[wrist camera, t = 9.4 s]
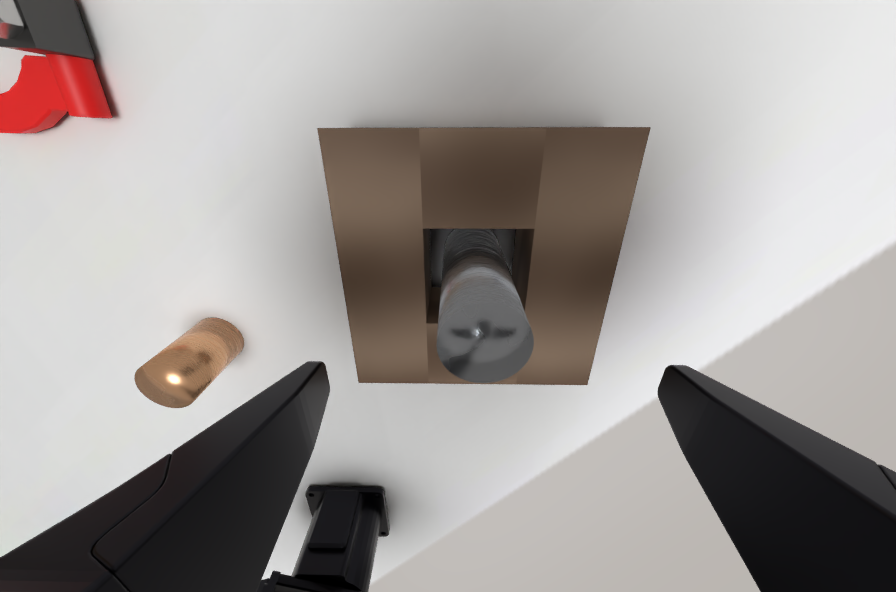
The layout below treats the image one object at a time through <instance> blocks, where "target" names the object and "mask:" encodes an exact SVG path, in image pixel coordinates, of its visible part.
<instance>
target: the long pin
mask: <svg viewBox="0 0 896 592" xmlns="http://www.w3.org/2000/svg"><path fill="white" fill-rule="evenodd" d="M436 346H437V353H438V356H439V358H440V361H441V362H442V364H443V365H444V366H445V368H446V369H447V370H448V371H449V372H451V373H452V374H453V375H455V376H457V377H459V378H461V379H463V380H466V381H469V382H474V383H492V382H497V381H501V380H504V379H506V378H508V377H511V376H512V375H514V374H515V373H517V372H518V371H519V370H521V369H522V368H523V367H524V366H525V364H526V363H527V362H528V360H529V358H530V356H531V354H532V351H533V346H534V337H533V333H532V329H531V327H530V324H529V322H528V319H527V316H526V314H525V311H524V308H523V306H522V303H521V301H520V298H519V295H518V293H517V290H516V287H515V285H514V282H513V280H512V277H511V274H510V272H509V269H508V266H507V264H506V261H505V258H504V256H503V253H502V251H501V248H500V245H499V243H498V240H497V238H496V236H495V234H494V233H493V232H492V231H491V230H490V229H454V230H453V231H452V232H451V233H450V234H449V236H448V237H447V239H446V242H445V247H444V259H443V271H442V283H441V295H440V307H439V319H438V331H437V344H436Z"/></svg>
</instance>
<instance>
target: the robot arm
mask: <svg viewBox="0 0 896 592" xmlns="http://www.w3.org/2000/svg"><path fill="white" fill-rule="evenodd" d="M329 392H330V385H329V380H328V375H327V371H326V366H325V364H324V363H323V362H321V361H309V362H306V363H305V364H303V365H302V366H300V367H299V368H297V369H296V370H294V371H293V372H291V373H290V374H288V375H287V376H285V377H284V378H282V379H280V380H279V381H277V382H276V383H274V384H273V385H271V386H270V387H268V388H267V389H265V390H264V391H262V392H261V393H259V394H258V395H256V396H255V397H253V398H252V399H250V400H249V401H247V402H246V403H244V404H243V405H241V406H240V407H238V408H237V409H235V410H234V411H232V412H231V413H229V414H228V415H226V416H225V417H223V418H222V419H220V420H219V421H217V422H216V423H214V424H213V425H211V426H210V427H208V428H207V429H205V430H204V431H202V432H201V433H199V434H198V435H196V436H195V437H193V438H192V439H190V440H189V441H187V442H186V443H184V444H183V445H181V446H180V447H178V448H177V449H175V450H174V451H173V452H172V454H168V455H166V456H165V457H163V458H162V459H160V460H159V461H157V462H156V463H154V464H153V465H151V466H150V467H148V468H147V469H145V470H143V471H142V472H140V473H139V474H137V475H136V476H134V477H133V478H131V479H129V480H128V481H126V482H125V483H123V484H122V485H120V486H119V487H117V488H115V489H114V490H112V491H110V492H109V493H107V494H106V495H104V496H102V497H101V498H99V499H97V500H96V501H94V502H92V503H91V504H89V505H88V506H86V507H84V508H83V509H81V510H79V511H78V512H76V513H74V514H73V515H71V516H69V517H68V518H66V519H64V520H62V521H61V522H59V523H57V524H56V525H54V526H52V527H51V528H49V529H47V530H46V531H44V532H42V533H41V534H39V535H37V536H36V537H34V538H32V539H31V540H29V541H27V542H26V543H24V544H22V545H20V546H19V547H17V548H15V549H14V550H12V551H10V552H9V553H7V554H5V555H4V556H2V557H0V592H368V589H369V584H370V578H371V573H372V568H373V562H374V557H375V552H376V546H377V541H378V536H388V535H389V529H390V528H389V521H388V515H387V508H386V501H385V494H384V490H383V489H381V488H373V487H309V488H308V489H307V491H306V493H305V495H306V498H307V501H308V504H309V507H310V510H311V514H312V517H313V518H312V521H311V524H310V526H309V529H308V532H307V535H306V537H305V540H304V543H303V546H302V548H301V551H300V554H299V557H298V559H297V562H296V565H295V568H294V570H293V573H292V576H288V575H284V574H280V573H281V572H278V571H273V572H272V575H271V577H270V579H269V578H267V579H265V580H261V579H262V577H263V574H264V572H265V569H266V567H267V564H268V562H269V559H270V557H271V554H272V552H273V549H274V547H275V544H276V542H277V539H278V537H279V534H280V532H281V529H282V527H283V524H284V522H285V519H286V517H287V514H288V512H289V509H290V507H291V504H292V502H293V499H294V497H295V494H296V492H297V489H298V487H299V484H300V482H301V479H302V477H303V474H304V472H305V469H306V467H307V465H308V462H309V460H310V457H311V454H312V452H313V449H314V446H315V443H316V439H317V436H318V432H319V429H320V425H321V422H322V418H323V414H324V411H325V407H326V404H327V400H328V396H329ZM658 398H659V400H660V403H661V405H662V407H663V409H664V412H665V414H666V416H667V418H668V421H669V423H670V425H671V428H672V430H673V432H674V434H675V437H676V439H677V441H678V443H679V446H680V448H681V450H682V452H683V454H684V456H685V458H686V460H687V461H688V463H689V465H690V467H691V469H692V470H693V472H694V474H695V476H696V477H697V479H698V481H699V483H700V485H701V486H702V488H703V490H704V492H705V494H706V495H707V497H708V499H709V501H710V502H711V504H712V506H713V508H714V510H715V511H716V513H717V515H718V517H719V518H720V520H721V522H722V524H723V526H724V527H725V529H726V531H727V533H728V534H729V536H730V538H731V540H732V541H733V543H734V545H735V547H736V548H737V550H738V552H739V554H740V556H741V557H742V559H743V561H744V563H745V565H746V566H747V568H748V570H749V572H750V573H751V575H752V577H753V579H754V581H755V582H756V584H757V586H758V588H759V590H760V591H761V592H896V472H894V471H892V470H890V469H888V468H886V467H884V466H882V465H877V464H876V463H875V462H874V461H872V460H871V459H869V458H867V457H865V456H863V455H861V454H859V453H857V452H855V451H853V450H851V449H849V448H847V447H845V446H843V445H841V444H839V443H837V442H835V441H833V440H831V439H829V438H827V437H825V436H823V435H821V434H820V433H818V432H815V431H814V430H812V429H810V428H808V427H806V426H804V425H802V424H800V423H798V422H796V421H794V420H792V419H790V418H788V417H786V416H784V415H782V414H780V413H778V412H776V411H774V410H772V409H770V408H768V407H767V406H765V405H762V404H760V403H759V402H757V401H755V400H753V399H751V398H749V397H747V396H745V395H743V394H741V393H739V392H737V391H735V390H733V389H731V388H729V387H727V386H725V385H723V384H721V383H720V382H717V381H715V380H713V379H712V378H710V377H708V376H706V375H704V374H702V373H700V372H698V371H696V370H694V369H692V368H690V367H688V366H685V365H670V366H668V367H667V368H666V369H665V371H664V374H663V377H662V379H661V382H660V384H659V387H658Z"/></svg>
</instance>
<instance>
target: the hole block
mask: <svg viewBox="0 0 896 592" xmlns="http://www.w3.org/2000/svg"><path fill="white" fill-rule="evenodd" d="M317 129H318V135H319V141H320V147H321V153H322V159H323V166H324V172H325V178H326V184H327V190H328V196H329V203H330V209H331V215H332V221H333V227H334V233H335V240H336V246H337V252H338V258H339V264H340V270H341V277H342V283H343V289H344V295H345V301H346V307H347V314H348V320H349V326H350V332H351V338H352V344H353V351H354V357H355V363H356V369H357V375H358V381H359V383H440V384H539V385H587V384H588V380H589V376H590V371H591V367H592V363H593V359H594V355H595V351H596V347H597V343H598V339H599V335H600V331H601V327H602V323H603V319H604V315H605V310H606V306H607V302H608V298H609V294H610V290H611V286H612V282H613V278H614V274H615V270H616V266H617V262H618V258H619V254H620V249H621V245H622V241H623V237H624V233H625V229H626V225H627V221H628V217H629V213H630V209H631V205H632V201H633V197H634V193H635V188H636V184H637V180H638V176H639V172H640V168H641V164H642V160H643V156H644V152H645V148H646V144H647V140H648V136H649V132H650V127H517V128H317ZM430 229H516V234H515V245H514V256H513V267H512V280H513V282H514V285H515V287H516V290H517V293H518V295H519V298H520V301H521V303H522V306H523V308H524V311H525V314H526V316H527V319H528V322H529V324H530V327H531V329H532V333H533V337H534V346H533V351H532V354H531V356H530V358H529V360H528V362H527V363H526V364H525V366H524V367H523V368H522V369H521V370H519V371H518V372H517V373H515V374H514V375H512V376H511V377H508V378H506V379H504V380H501V381H497V382H492V383H474V382H469V381H466V380H463V379H461V378H459V377H457V376H455V375H453V374H452V373H451V372H449V371H448V370H447V369H446V368H445V366H444V365H443V364H442V362H441V361H440V358H439V356H438V353H437V346H436V344H437V331H438V319H439V307H440V295H441V287H431V251H430Z"/></svg>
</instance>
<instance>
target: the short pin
mask: <svg viewBox="0 0 896 592" xmlns="http://www.w3.org/2000/svg"><path fill="white" fill-rule="evenodd" d="M243 347H244V340H243V337H242V335H241V333H240V332H239V330H238V329H237V328H236V327H235V326H234V325H232V324H231V323H229V322H227V321H225V320H222V319H219V318H206V319H203V320H201V321H200V322H199V323H197V324H196V325H195V326H194V327H192V328H191V329H190V330H188V331H187V332H186V333H184V334H183V335H182V336H180V337H179V338H178V339H177V340H175V341H174V342H173V343H171V344H170V345H169V346H167V347H166V348H165V349H164V350H162V351H161V352H160V353H158V354H157V355H156V356H154V357H153V358H152V359H150V360H149V361H148V362H147V363H145V364H144V365H143V366H141V367H140V368H139V369H138V370H137V371H136V373H135V382H136V385H137V387H138V389H139V390H140V391H141V392H142V393H143V394H144V395H145V396H146V397H147V398H149V399H150V400H152V401H153V402H155V403H157V404H160V405H162V406H166V407H171V408H182V407H186V406H189V405H190V404H191V403H193V402H194V400H195V399H196V398H197V397H198V396H199V395H200V394H201V393H202V392H203V391H204V390H205V389H206V388H207V387H208V386H209V385H210V384H211V383H212V381H213V380H214V379H215V378H216V377H217V376H218V375H219V374H220V373H221V372H222V371H223V370H224V369H225V368H226V367H227V366H228V365H229V364H230V362H231V361H232V360H233V359H234V358H235V357H236V356H237V355H238V354H239V353H240V352H241V351H242V349H243Z"/></svg>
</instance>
